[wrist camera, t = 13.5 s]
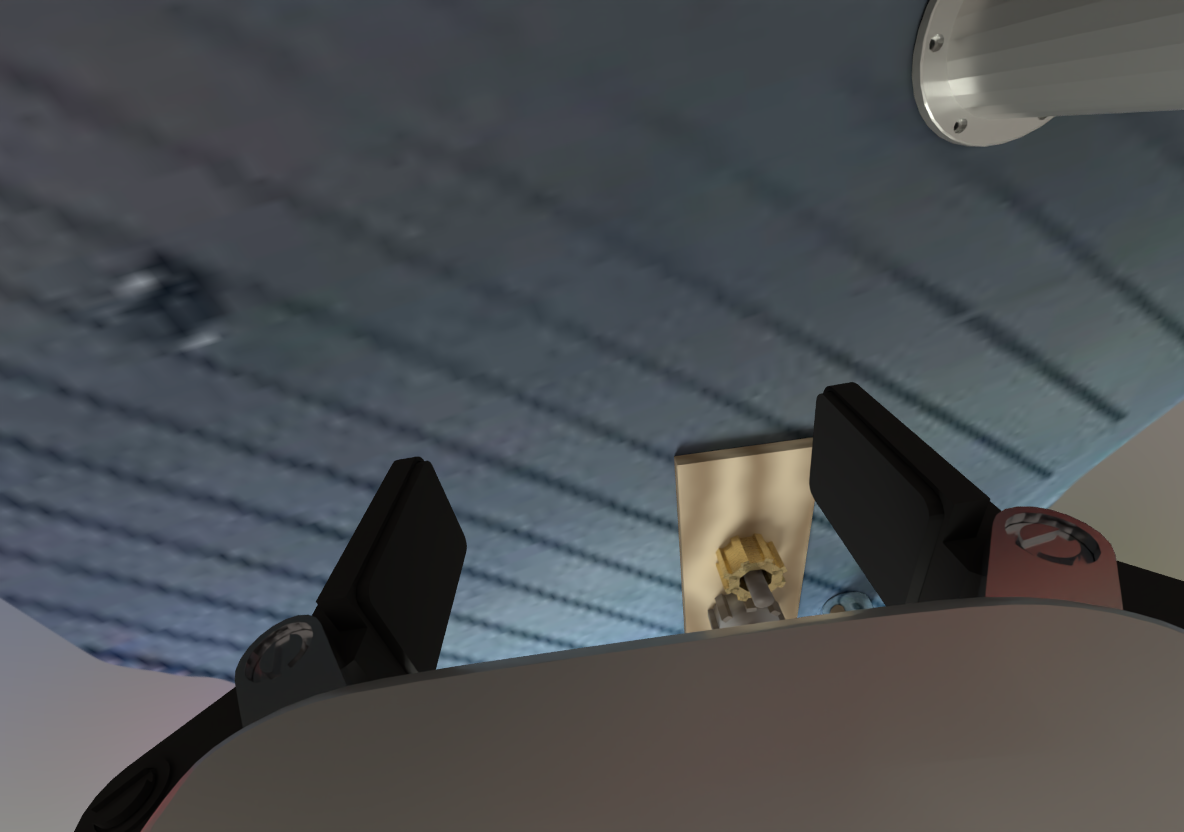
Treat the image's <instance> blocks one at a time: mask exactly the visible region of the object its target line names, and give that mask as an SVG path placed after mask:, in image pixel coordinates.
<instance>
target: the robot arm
mask: <svg viewBox="0 0 1184 832" xmlns="http://www.w3.org/2000/svg"><path fill="white" fill-rule="evenodd" d="M929 44H930V47H929ZM912 82H913V91H914V97H915V100H916V103H917V106H918V110H919V113H920V114H921V116H922V118H923V119H924V121H925V122H926V124H927V126H928V127H929V128H930V129H931V130H932V131H933V132H935V133H936V134H937V135H938V136H939V137H941V138H943V139H945V140H947V141H949V142H951V143H953V144H958V145H964V146H991V145H998V144H1003V143H1006V142H1009V141H1012V140H1015V139H1018V138H1020V137H1023V136H1025V135H1026V134H1028V133H1030V132H1032V131H1034V130H1036V129H1038V128H1039V127H1041V126H1043V125H1044V124H1045V123H1047V122H1048V121H1049V120H1051V119H1052V118H1054V117H1055V116H1069V115H1089V114H1109V113H1129V112H1149V111H1169V110H1184V0H930V1H929V3H928V5H927V7H926V10H925V13H924V16H923V18H922V21H921V24H920V27H919V30H918V34H917V39H916V43H915V48H914V53H913V66H912ZM809 487H810V491H811V494H812V496H813V498H814V500H815V501H816V503H817V504H818V506H819V507H820V509H821V510H822V512H823V513H824V515H825V516H826V518H827V519H828V520H829V522H830V523H831V525H832V526H833V528H834V529H835V531H836V532H837V534H838V535H839V537H840V538H841V540H842V541H843V543H844V544H845V546H846V547H847V549H848V550H849V552H850V553H851V555H852V556H853V558H854V559H855V561H856V562H857V564H858V565H859V567H860V568H861V570H862V571H863V573H864V574H865V576H866V577H867V579H868V580H869V582H870V583H871V585H872V586H873V588H874V589H875V591H876V592H877V593H878V595H879V596H880V598H881V599H882V601H883V602H884V604H885V605H886V607H878V608H869V609H861V610H852V611H845V612H837V613H830V614H823V615H815V616H808V617H801V618H793V619H786V620H778V621H771V622H764V623H756V624H749V625H741V626H734V627H727V628H719V629H712V630H705V631H698V632H691V633H684V634H677V635H670V636H662V637H655V638H648V639H641V640H634V641H627V642H620V643H613V644H606V645H599V646H592V647H585V648H578V649H571V650H564V651H557V652H550V653H543V654H537V655H530V656H523V657H516V658H509V659H503V660H496V661H489V662H482V663H475V664H468V665H462V666H455V667H449V668H443V669H437V670H436V667H437V663H438V659H439V655H440V651H441V647H442V643H443V640H444V636H445V632H446V628H447V624H448V620H449V616H450V613H451V609H452V605H453V601H454V597H455V593H456V589H457V585H458V582H459V578H460V574H461V570H462V566H463V562H464V558H465V555H466V550H467V545H466V539H465V536H464V534H463V531H462V529H461V527H460V525H459V523H458V521H457V518H456V516H455V514H454V512H453V510H452V507H451V505H450V503H449V501H448V499H447V497H446V494H445V492H444V490H443V488H442V486H441V483H440V481H439V479H438V477H437V475H436V472H435V470H434V468H433V466H432V464H431V463H430V462H429V461H424V460H423V459H422V458H421V457H412V458H406V459H400V460H396V461H394V463H393V464H392V466H391V467H390V469H389V471H388V473H387V475H386V476H385V478H384V480H383V482H382V484H381V485H380V487H379V489H378V491H377V493H376V494H375V496H374V498H373V500H372V502H371V503H370V505H369V507H368V509H367V511H366V512H365V514H364V516H363V518H362V520H361V521H360V523H359V525H358V527H357V529H356V530H355V532H354V534H353V536H352V538H351V539H350V541H349V543H348V545H347V547H346V548H345V550H344V552H343V554H342V556H341V557H340V559H339V561H338V563H337V565H336V566H335V568H334V570H333V572H332V574H331V575H330V577H329V579H328V581H327V583H326V584H325V586H324V588H323V590H322V592H321V593H320V595H319V597H318V599H317V600H316V603H317V604H318V605H317V607H316V609H315V611H314V613H313V614H312V616H310V615H298V616H294V617H291V618H288V619H285V620H283V621H282V622H280V623H278V624H276V625H274V626H272V627H271V628H270V629H268V630H267V631H266V632H264V633H263V634H262V635H260V636H259V637H258V638H257V639H256V640H255V641H254V642H253V643H252V644H251V645H250V646H249V648H248V649H247V650H246V652H245V653H244V655H243V656H242V657H241V659H240V661H239V664H238V666H237V668H236V671H235V685H236V687H235V688H233V689H232V690H231V691H229V692H228V693H226V694H225V695H224V696H222V697H221V698H220V699H218V700H217V701H216V702H214V703H213V704H212V705H210V706H209V707H208V708H206V709H205V710H203V711H202V712H201V713H199V714H198V715H197V716H195V717H194V718H193V719H192V720H190V721H189V722H187V723H186V724H185V725H183V726H182V727H180V728H179V729H178V730H177V731H175V732H174V733H172V734H171V735H170V736H168V737H167V738H166V739H164V740H163V741H162V742H160V743H159V744H157V745H156V746H155V747H153V748H152V749H151V750H149V751H148V752H147V753H145V754H144V755H143V756H141V757H140V758H139V759H137V760H136V761H135V762H133V763H132V764H131V765H129V766H128V767H127V768H125V769H124V770H123V771H122V772H121V773H119V774H118V775H117V776H116V777H115V778H113V779H112V780H111V781H110V782H109V783H108V784H107V786H106V787H105V788H104V789H103V790H102V791H101V792H100V793H99V794H98V795H97V796H96V797H95V799H94V800H93V801H92V803H91V804H90V805H89V807H88V808H87V809H86V811H85V812H84V814H83V815H82V817H81V819H80V821H79V823H78V825H77V827H76V829H75V831H74V832H1184V581H1181V580H1178V579H1175V578H1171V577H1168V576H1165V575H1162V574H1158V573H1155V572H1152V571H1149V570H1145V569H1142V568H1139V567H1136V566H1132V565H1129V564H1126V563H1123V562H1119V561H1116V555H1115V552H1114V550H1113V548H1112V545H1111V544H1110V543H1109V541H1107V540H1106V538H1105V537H1104V536H1103V535H1102V534H1101V533H1100V532H1098V531H1097V530H1095V529H1094V528H1092V527H1091V526H1089V525H1088V524H1086V523H1084V522H1082V521H1080V520H1078V519H1075V518H1073V517H1071V516H1069V515H1066V514H1063V513H1060V512H1057V511H1054V510H1050V509H1044V508H1038V507H1013V508H1008V509H1004V510H1003V511H1001V510H1000V509H998V508H997V507H996V506H995V505H994V504H993V503H991V502H990V498H989V497H988V496H987V495H986V494H984V493H983V492H982V491H981V490H980V489H979V488H977V487H976V486H975V485H974V484H973V483H972V482H970V481H969V480H968V479H967V478H966V477H965V476H963V475H962V474H961V473H960V472H959V471H958V470H957V469H955V468H954V467H953V466H952V465H951V464H950V463H948V462H947V461H946V460H945V459H944V458H943V457H941V456H940V455H939V454H938V453H937V452H936V451H934V450H933V449H932V448H931V447H930V446H929V445H927V444H926V443H925V442H924V441H923V440H922V439H920V438H919V437H918V436H917V435H916V434H915V433H913V432H912V431H911V430H910V429H909V428H908V427H907V426H905V425H904V424H903V423H902V422H901V421H900V420H898V419H897V418H896V417H895V416H894V415H893V414H891V413H890V412H889V411H888V410H887V409H886V408H884V407H883V406H882V405H881V404H880V403H879V402H877V401H876V400H875V399H874V398H873V397H872V396H870V395H869V394H868V393H867V392H866V391H865V390H863V389H862V388H861V387H860V386H859V385H858V384H856V383H854V382H850V383H844V384H838V385H832V386H827V387H826V388H825V390H824V392H823V393H822V394H819V395H818V396H817V400H816V410H815V421H814V432H813V443H812V454H811V465H810V477H809Z"/></svg>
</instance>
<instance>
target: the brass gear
mask: <svg viewBox="0 0 1184 832" xmlns="http://www.w3.org/2000/svg"><path fill="white" fill-rule="evenodd" d="M730 539H731V542H730V543H729V544H728V545H727V546H725V547H724V548H718V550H717V551H716V556H717V559H718V562H719V563H716V567H717V570H718V573H719V576H720V579H721V582H722V584H723V587H724V590H725V592H726V593H727V594H730V593H734V594H735V595H737V597H738V600H740V601H747V599H748V598H752V597H751V594H750V592H749V589H748V587H747V584H746V582H745V579H744V577H743V575H745V574H746V573H747V572H749V571H751V570H759V569H761V571H762V573H763V575H764V577H765V580H766V582H767V584H768V587H769V589H770V591H771V592H772V591H773V590H774V589H776V588H777V587H781V588H782V587H783V586H784V585H785V583H786V581H785V579H784V577H783V573H784V572H787V569H786V567H785V565H784V563H783V561H782V559H781V557H780V555H779V553H778V551H777V549H776V547H775V545H774V543H773V542H772V541H771V542H768V543H767V542H766V541H764V539H763V536H762V534H756V533H754V534H753V535H752V537H744V538H739V536H738V535H737V536H734V537H732V538H730Z"/></svg>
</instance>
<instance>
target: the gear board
mask: <svg viewBox="0 0 1184 832" xmlns="http://www.w3.org/2000/svg"><path fill="white" fill-rule="evenodd" d="M812 443H813V437H812V438H805V439H797V440H790V441H783V442H775V443H768V444H761V445H754V446H746V447H739V448H732V449H724V450H717V451H710V452H702V453H695V454H688V455H680V456H674V460H675V477H676V494H677V512H678V529H679V546H680V563H681V580H682V597H683V614H684V631H685V633H691V632H698V631H705V630H712V629H719V628H727V627H734V626H741V625H749V624H756V623H764V622H771V621H778V620H786V619H793V618H797V614H798V608H799V601H800V594H801V588H802V581H803V575H804V568H805V561H806V555H807V548H808V541H809V535H810V528H811V521H812V515H813V508H814V502H815V500H814V498H813V496H812V494H811V491H810V487H809V477H810V465H811V454H812ZM754 533H756V534H762V536H763V539H764V541H766V542H767V543H768V542H771V541H772V542H773V543H774V545H775V547H776V549H777V551H778V553H779V555H780V557H781V559H782V561H783V563H784V565H785V567H786V569H787V572H784V573H783V577H784V579H785V581H786V583H785V585H784V586H783V587H782V588H781V587H777V588H776V589H774V590H773V591H772V592H771V591H770V589H769V587H768V584H767V582H766V580H765V577H764V575H763V573H762V571H761V569H759V570H751V571H749V572H747V573H746V574H745V575H743V577H744V579H745V582H746V584H747V587H748V589H749V592H750V594H751V597H752V598H748V599H747V601H740V600H738V597H737V595H735V594H734V593H730V594H727V593H726V592H725V590H724V587H723V584H722V582H721V579H720V576H719V573H718V570H717V567H716V563H719V562H718V559H717V556H716V551H717V550H718V548H724V547H725V546H727V545H728V544H729V543H730V542H731V539H730V538H732V537H734V536H737V535H738V536H739V538H744V537H752V535H753V534H754Z"/></svg>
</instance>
